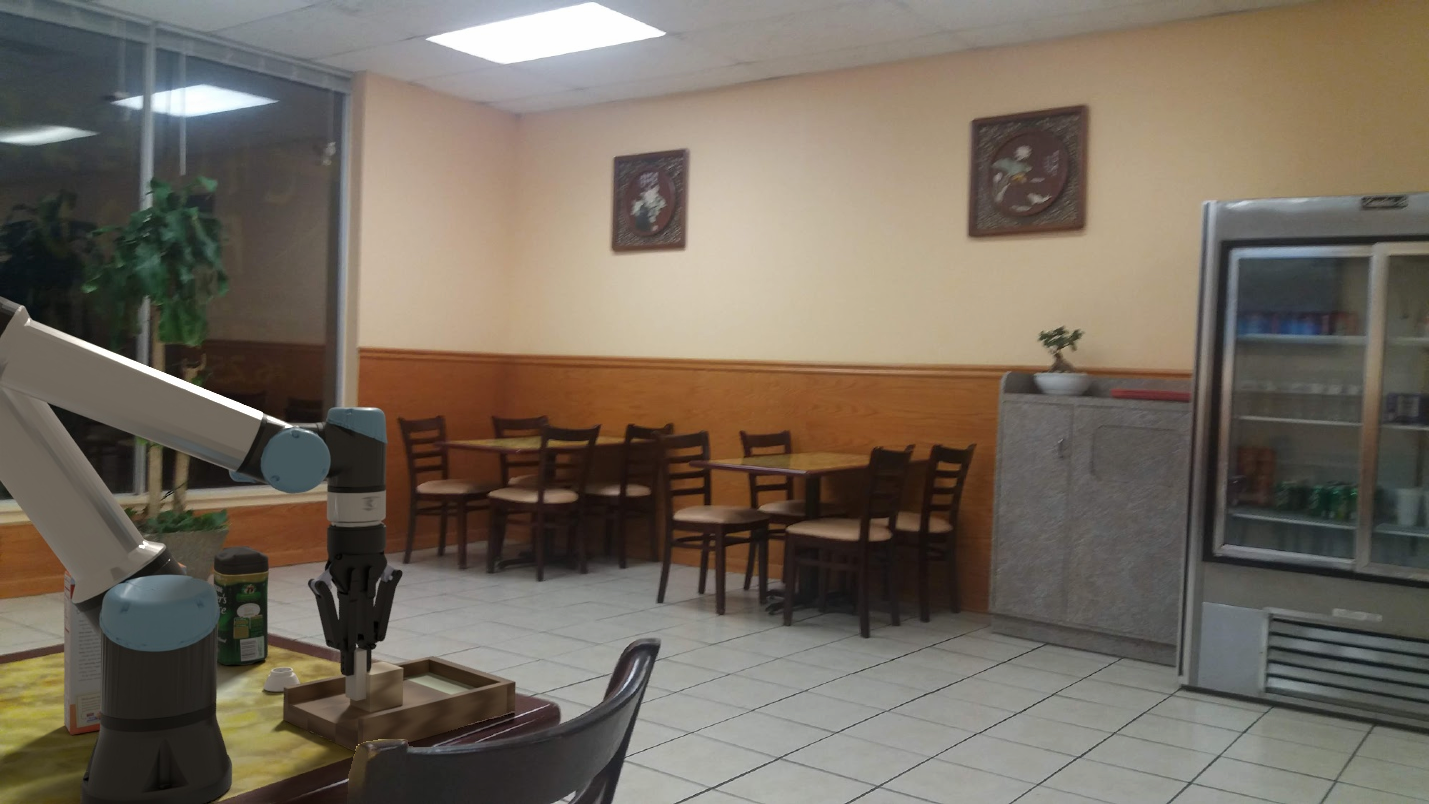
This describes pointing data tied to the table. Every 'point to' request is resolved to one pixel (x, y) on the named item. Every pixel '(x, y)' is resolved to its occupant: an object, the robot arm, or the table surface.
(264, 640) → the coffee jar
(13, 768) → the table surface
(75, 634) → the cracker box
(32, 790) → the table surface
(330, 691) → the box
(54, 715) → the table surface
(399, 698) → the maple cube
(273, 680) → the white tapered collar
